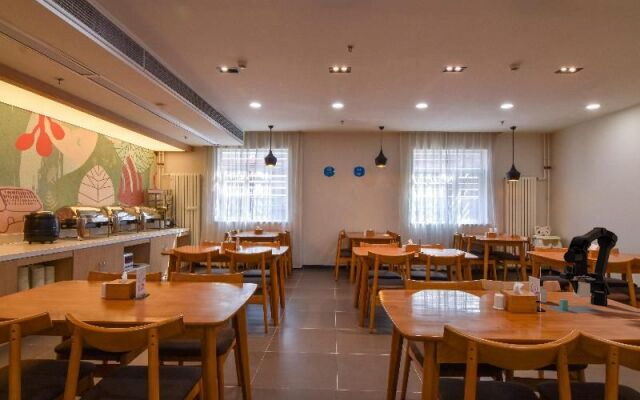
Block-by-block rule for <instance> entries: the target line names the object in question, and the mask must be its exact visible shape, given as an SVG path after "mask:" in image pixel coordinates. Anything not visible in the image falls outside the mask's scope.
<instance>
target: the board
mask: <svg viewBox="0 0 640 400" xmlns="http://www.w3.org/2000/svg"><path fill="white" fill-rule="evenodd" d="M544 307H545V308H548V309H550V310H552V311H554V312H557V313H559V314H561V313H562V314H563V313H564V314H565V313H567V314H569V313H573V314H576V313H577V314H578V313H579V314H586V313H587V314H605V313H606V312H605V311H602V310H599V309H596V308H593V307H591V306H588V305H568V311H562V310H560V309H559V305H544Z"/></svg>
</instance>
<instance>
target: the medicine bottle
mask: <svg viewBox="0 0 640 400" xmlns="http://www.w3.org/2000/svg"><path fill="white" fill-rule="evenodd" d="M538 279H539V278H538ZM539 280H540V293H541V302H540V303H547V302H548V299H547V298H548V295H547V294H548V291H547V289H545V288H544V280H543V279H539Z"/></svg>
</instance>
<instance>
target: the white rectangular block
mask: <svg viewBox="0 0 640 400" xmlns="http://www.w3.org/2000/svg"><path fill="white" fill-rule="evenodd" d="M572 295H573V296H576V297H580V298H591V293H590V283H586V282H585V281H578V291H577V294H576V293H575V292H574V290H573V289H572Z"/></svg>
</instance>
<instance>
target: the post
mask: <svg viewBox="0 0 640 400" xmlns="http://www.w3.org/2000/svg"><path fill="white" fill-rule="evenodd" d="M558 301H559V302H558V303H559V305H558V306H559V309H560V310H562V311H568V306H569V301H568V300H567V299H565V298H559V300H558Z"/></svg>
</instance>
